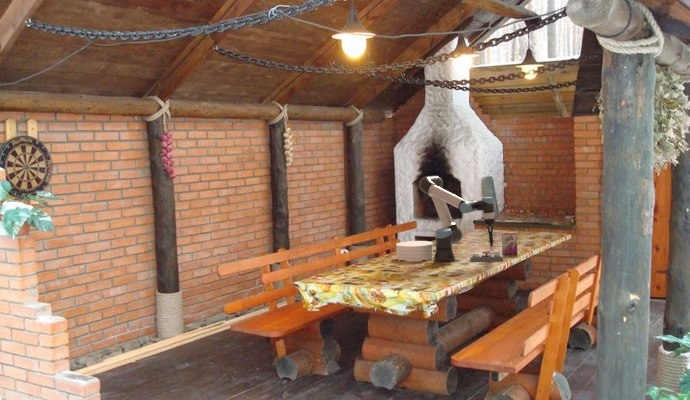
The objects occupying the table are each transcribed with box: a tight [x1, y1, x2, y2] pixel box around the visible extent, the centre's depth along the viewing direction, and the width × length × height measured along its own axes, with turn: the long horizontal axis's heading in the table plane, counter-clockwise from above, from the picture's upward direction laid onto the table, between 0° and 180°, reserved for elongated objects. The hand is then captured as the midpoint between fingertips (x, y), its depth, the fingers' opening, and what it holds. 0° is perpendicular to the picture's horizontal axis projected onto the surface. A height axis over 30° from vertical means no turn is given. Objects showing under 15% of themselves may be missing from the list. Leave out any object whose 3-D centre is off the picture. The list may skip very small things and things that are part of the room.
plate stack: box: [395, 240, 435, 262], centre depth 515 cm, size 28×28×12 cm
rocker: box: [481, 250, 491, 255], centre depth 492 cm, size 6×4×2 cm
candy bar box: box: [501, 231, 518, 255], centre depth 514 cm, size 11×5×16 cm, turn 74°
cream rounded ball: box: [473, 252, 480, 257], centre depth 493 cm, size 4×4×4 cm
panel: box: [469, 253, 504, 262], centre depth 492 cm, size 23×8×4 cm, turn 78°
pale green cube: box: [493, 250, 501, 256], centre depth 490 cm, size 4×4×4 cm
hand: (492, 250), depth 490 cm, fingers closed
